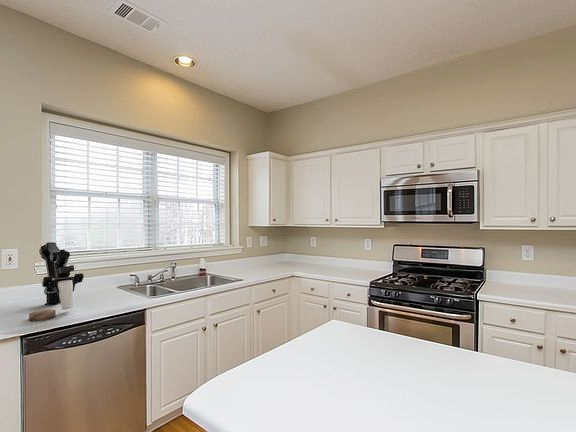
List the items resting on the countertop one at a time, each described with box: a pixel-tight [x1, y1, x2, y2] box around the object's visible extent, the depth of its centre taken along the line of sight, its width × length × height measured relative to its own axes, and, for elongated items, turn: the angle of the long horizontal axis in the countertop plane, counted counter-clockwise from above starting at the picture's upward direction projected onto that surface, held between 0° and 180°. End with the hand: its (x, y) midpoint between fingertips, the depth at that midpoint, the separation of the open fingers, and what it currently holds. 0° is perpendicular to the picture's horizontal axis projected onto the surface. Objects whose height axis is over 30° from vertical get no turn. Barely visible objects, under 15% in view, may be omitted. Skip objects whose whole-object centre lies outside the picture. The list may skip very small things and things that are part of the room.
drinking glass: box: [58, 280, 74, 311], centre depth 179 cm, size 7×7×15 cm
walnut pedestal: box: [28, 308, 57, 323], centre depth 169 cm, size 11×11×3 cm
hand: (66, 292), depth 178 cm, fingers closed on drinking glass, 6 cm apart
